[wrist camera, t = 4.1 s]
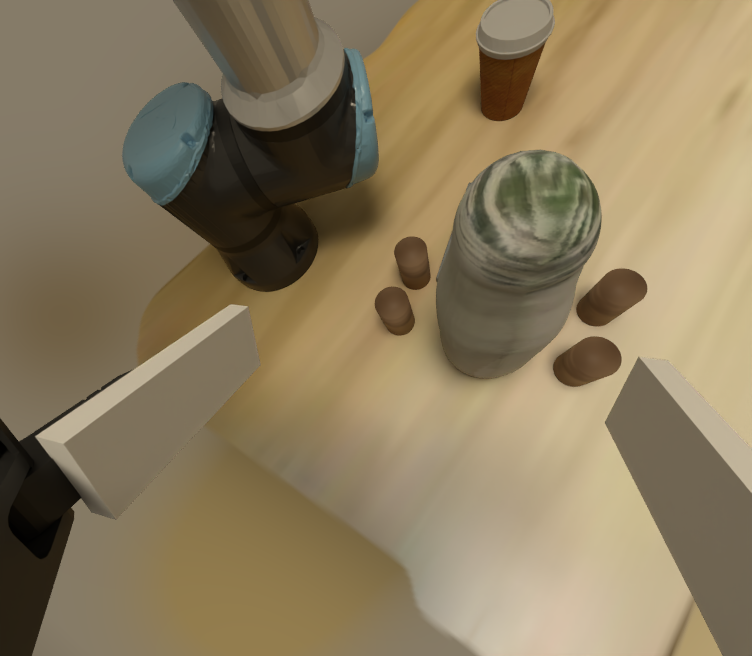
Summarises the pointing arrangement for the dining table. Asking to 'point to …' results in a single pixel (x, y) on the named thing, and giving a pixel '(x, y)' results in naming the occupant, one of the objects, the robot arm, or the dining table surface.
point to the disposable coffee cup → (511, 52)
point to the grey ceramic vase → (515, 261)
